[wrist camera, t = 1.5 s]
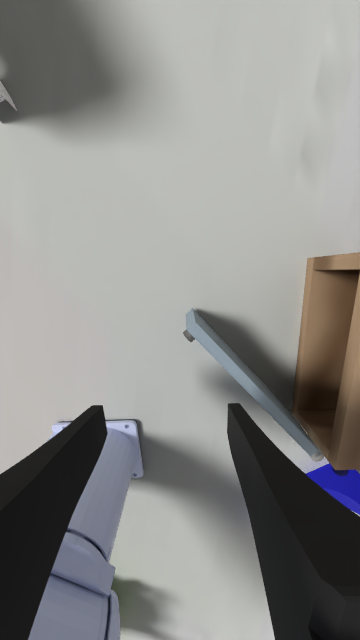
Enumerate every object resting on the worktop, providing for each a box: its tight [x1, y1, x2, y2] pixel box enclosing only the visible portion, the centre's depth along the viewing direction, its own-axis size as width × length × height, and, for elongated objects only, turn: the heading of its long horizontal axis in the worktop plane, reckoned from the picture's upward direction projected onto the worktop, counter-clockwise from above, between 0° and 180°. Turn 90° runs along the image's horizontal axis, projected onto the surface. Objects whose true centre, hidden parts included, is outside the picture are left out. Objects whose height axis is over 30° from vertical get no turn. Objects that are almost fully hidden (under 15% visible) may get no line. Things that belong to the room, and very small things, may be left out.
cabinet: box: [292, 253, 360, 470], centre depth 15 cm, size 5×16×6 cm, turn 4°
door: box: [183, 308, 324, 461], centre depth 16 cm, size 2×16×5 cm, turn 44°
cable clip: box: [306, 463, 360, 515], centre depth 20 cm, size 12×4×6 cm, turn 125°
